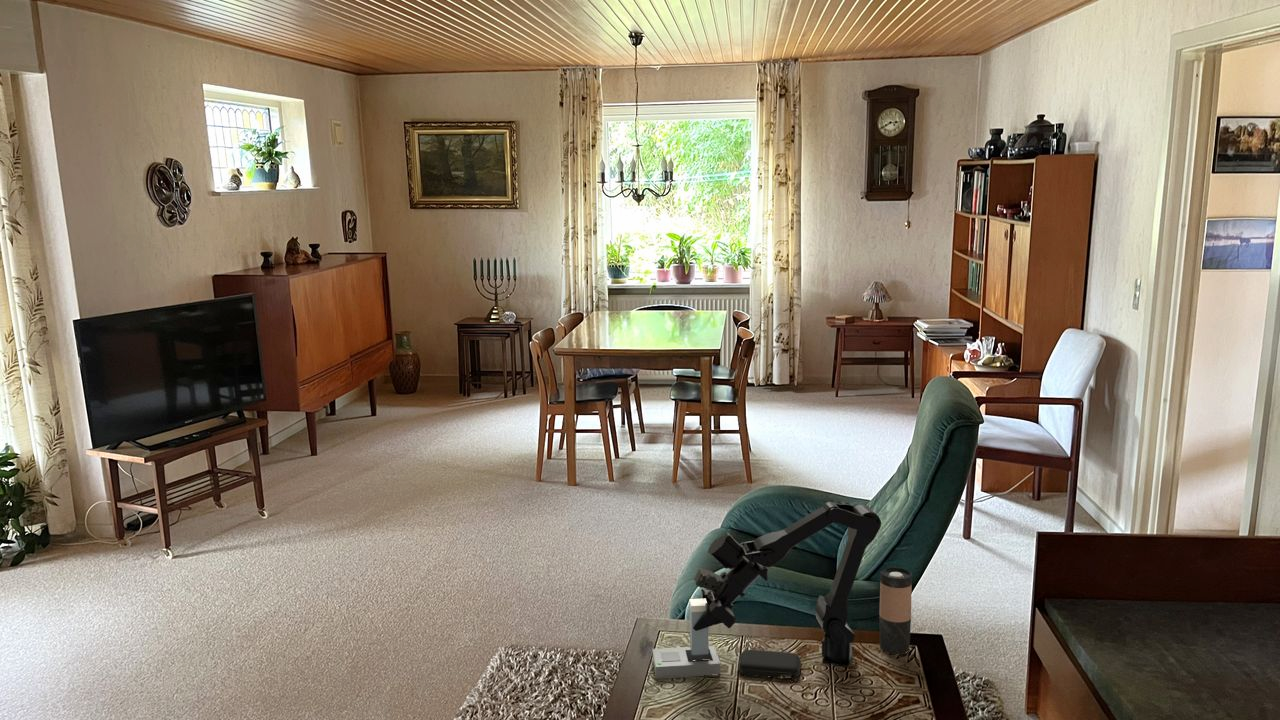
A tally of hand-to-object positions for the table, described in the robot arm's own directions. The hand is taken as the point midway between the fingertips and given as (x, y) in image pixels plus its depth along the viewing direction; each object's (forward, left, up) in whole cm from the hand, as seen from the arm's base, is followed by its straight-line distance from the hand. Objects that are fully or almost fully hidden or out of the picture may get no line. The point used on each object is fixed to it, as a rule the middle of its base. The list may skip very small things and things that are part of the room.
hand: (693, 625), depth 213 cm
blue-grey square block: (-1, -1, -7) cm, 7 cm away
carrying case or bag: (-17, -6, -11) cm, 22 cm away
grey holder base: (+2, +1, -11) cm, 11 cm away
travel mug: (-44, -28, -11) cm, 53 cm away
